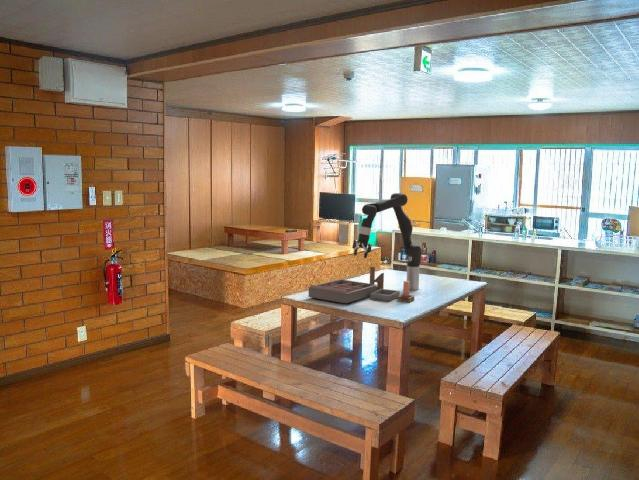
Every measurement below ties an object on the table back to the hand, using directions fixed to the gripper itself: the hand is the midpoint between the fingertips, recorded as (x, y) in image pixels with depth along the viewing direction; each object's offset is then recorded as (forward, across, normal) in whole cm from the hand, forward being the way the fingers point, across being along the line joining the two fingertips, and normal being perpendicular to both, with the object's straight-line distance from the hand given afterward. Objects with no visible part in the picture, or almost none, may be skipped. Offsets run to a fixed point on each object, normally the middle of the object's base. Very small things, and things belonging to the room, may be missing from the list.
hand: (359, 256), depth 367 cm
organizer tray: (+30, +4, +4) cm, 31 cm away
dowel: (+22, -32, -17) cm, 43 cm away
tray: (+24, -18, -14) cm, 33 cm away
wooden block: (+25, 0, -28) cm, 37 cm away
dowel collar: (+22, -32, -17) cm, 43 cm away
